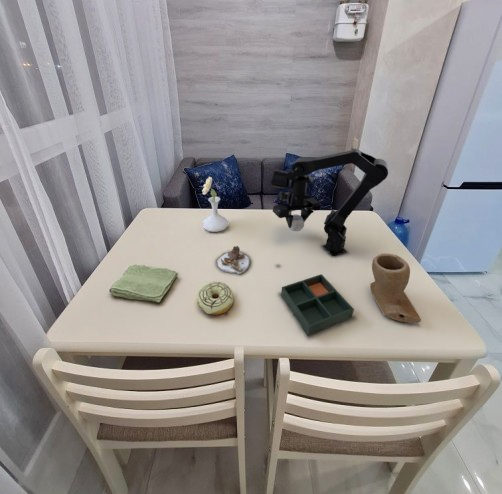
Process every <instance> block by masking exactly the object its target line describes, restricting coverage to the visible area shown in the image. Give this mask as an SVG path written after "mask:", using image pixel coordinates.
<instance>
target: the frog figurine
mask: <svg viewBox="0 0 502 494" xmlns="http://www.w3.org/2000/svg"><path fill="white" fill-rule="evenodd" d="M240 249H241V247H239V246H238V245H236V246H233V247H232V249H231V250H230V251H228V252H227V253H224V254H223V255H222V256H220V257H219V258H218V259H217V262H216V264H217V267H218V268H219V269H220V270H221V271H223V272H224V273H225V272H226V273H230V274H234V273H235V274H237V275H241V274H243V273H245V272H246V271H247V270H248V268H249V267H250V258H249V256H247V255H246V254H244V253H242V252H240Z"/></svg>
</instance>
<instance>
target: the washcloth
mask: <svg viewBox="0 0 502 494" xmlns="http://www.w3.org/2000/svg"><path fill="white" fill-rule="evenodd" d="M178 274H179V273H178V272H177V271H176V270H173V269H170V268H166V267H165V268H164V267H157V266H156V267H155V266H148V265H144V264H131V265H129V266H128V268H127V269H126V270H125V271H124V272H123V274H122V276H121V277H120V278H119V279H118V280H116V281H115V282H114V283H113V284H112V285H111V286H110V288H109V290H108V291H109V294H111V295H112V296H114V297H121V298H124V299H127V300H128V299H129V300H136V301H137V300H139V301H147V302H156V303H161V300H162V299H163V297H164V296H165V295H166V293H168V291H169V289H170V288H171V286H172V284H173V282H174V281H175V279H176V277H178Z"/></svg>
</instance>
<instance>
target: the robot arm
mask: <svg viewBox="0 0 502 494" xmlns="http://www.w3.org/2000/svg"><path fill="white" fill-rule="evenodd" d="M351 164H352V165H353V166H355V167H357V169H359V170H360V171H361V172H362V173H364V174H363V176H362V178H361V180H360V182H358V184H357V185H356V187H355V188H354V189H353V190H352V192H351V193H350V195H348V197H347V198H346V199H345V201H344V202H343V203H342V205H341V206H340V207H339V208H338V209H336V210H334V209H333V208H332V209H331V210H330V213H329V214H327V215H326V217H325V220H324V222H323V224H324V226H323V231H324V233H325V234H326V235H327V239H326V240H325V244H323V245H322V247H323V249H325V250H326V251H327V252H328V253H329V254H330V255H331V256H332V257H336V256H339V255H342V254H346V253H347V250H346V249H345V244H346V239H347V236H346V234H347V230H348V228H347V226H346V225H345V223H346V220H347V219H348V217H349V216H350V215H351V214H352V213H353V211H354V210H355V209H356V208H357V207H358V205H359V204H361V202H362V201H363V199H364V198H365V197H366V196H367V195H368V193H369V192H370V191H371V190H372V189H374V188H375V187H378V185H380V184H381V183H382V182H383V181H384V180H385V179H387V177H388V175H389V165H388V163H387V161H386V160H385V159H382V158H377V157H375V156H373V155H371V154H368V153H367V152H366V153H365V152H363V151H362V150H359V149H358V148H353V149H349V150H347V151H341V152H337V153H332V154H328V155H323V156H318V157H317V156H316V157H313V156H302V157H299V158H297V159H296V160H295V161H294V162H293V163H292V164H291V168H290V169H289V170H288V171H284V170H280V169H275V170H274V171H273V174H272V178H271V180H270V184H271V188H272V187H273V188H278V189H283V190H288V188H290V191H288V192H285V191H279V193H278V199H279V200H280V201H283V202H286V204H288V206H286V205H284V204H283V203H280V204H275V205H273V207H272V212H273V214H274V215H275V216H277V217H278V219H283V218H285V221H286V224H287V227H288V229H289V228H290V227H291V225H292V220H293V215H294V214H292V212H295V211H300V216H301V217H302V218H303V220H304V223H305V222H306V221H307V220H308V218H310V216H311V215H312V214H313V213H314V212H315V211H320V210H321V207H322V204H321V202H320V201H318V200H317V199H316V198H314V197H310V198H309V195H308V194H307V189H308V184H312V183H313V181H314V178H313V177H312V176H311V174H312V173H314V172H316V171H319V170H326V169H329V168H330V169H331V168H335V167H340V166H346V165H351Z"/></svg>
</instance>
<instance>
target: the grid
mask: <svg viewBox="0 0 502 494" xmlns="http://www.w3.org/2000/svg"><path fill="white" fill-rule="evenodd" d="M280 291H281V293H280V296H281V297H282V299H283V300H284V302H285V303H286V305H287V307H288V308H289V309H290V311H291V312H292V313H293V316H294V317H295V318H296V321H298V323H299V324H300V326H301V328H302V329H303V330H304V332H305V333H306V335H307V336H308V337H309V336H311V335H313V334H316V333H318V332H321V331H323V330H326V329H328V328H330V327H333V326H335V325H337V324H339V323H342V322H344V321H347V320H350V319H352V318H353V314H354V311H355V308H354V307H353V306H352V305H351V304H350V303H349V302H348V301H347V300H346V298H344V297H343V295H342V294H341V293H340V292H339V291H338V290H337V289H336V288H335V287H334V286H333V285H332V283H330V281H329V280H328V279H327V278H326V277H325V276H324V275H323V274H322V273H321V274H316V275H315V276H312V277H309V278H305V279H302V280H299V281H296V282H293V283H290V284H287V285H284V286H281V290H280Z"/></svg>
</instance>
